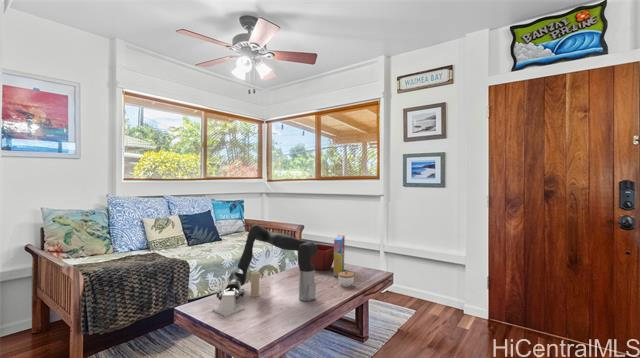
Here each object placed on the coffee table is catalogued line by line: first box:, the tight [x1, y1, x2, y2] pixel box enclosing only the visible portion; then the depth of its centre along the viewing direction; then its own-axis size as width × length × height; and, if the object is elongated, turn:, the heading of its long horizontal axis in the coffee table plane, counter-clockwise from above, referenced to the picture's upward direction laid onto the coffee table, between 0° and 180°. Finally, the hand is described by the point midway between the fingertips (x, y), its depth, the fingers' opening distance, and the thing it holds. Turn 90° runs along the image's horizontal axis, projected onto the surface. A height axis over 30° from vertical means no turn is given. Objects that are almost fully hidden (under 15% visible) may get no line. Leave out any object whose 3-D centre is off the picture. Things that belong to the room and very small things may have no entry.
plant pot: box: [311, 243, 334, 272], centre depth 248 cm, size 19×19×17 cm
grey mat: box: [211, 303, 245, 318], centre depth 166 cm, size 12×12×1 cm
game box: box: [332, 234, 346, 277], centre depth 237 cm, size 21×6×27 cm, turn 168°
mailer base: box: [250, 270, 260, 298], centre depth 188 cm, size 5×5×14 cm
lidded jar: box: [337, 270, 355, 288], centre depth 209 cm, size 11×11×9 cm
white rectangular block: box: [221, 290, 237, 311], centre depth 166 cm, size 6×6×8 cm
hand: (228, 298), depth 165 cm, fingers open, 8 cm apart
